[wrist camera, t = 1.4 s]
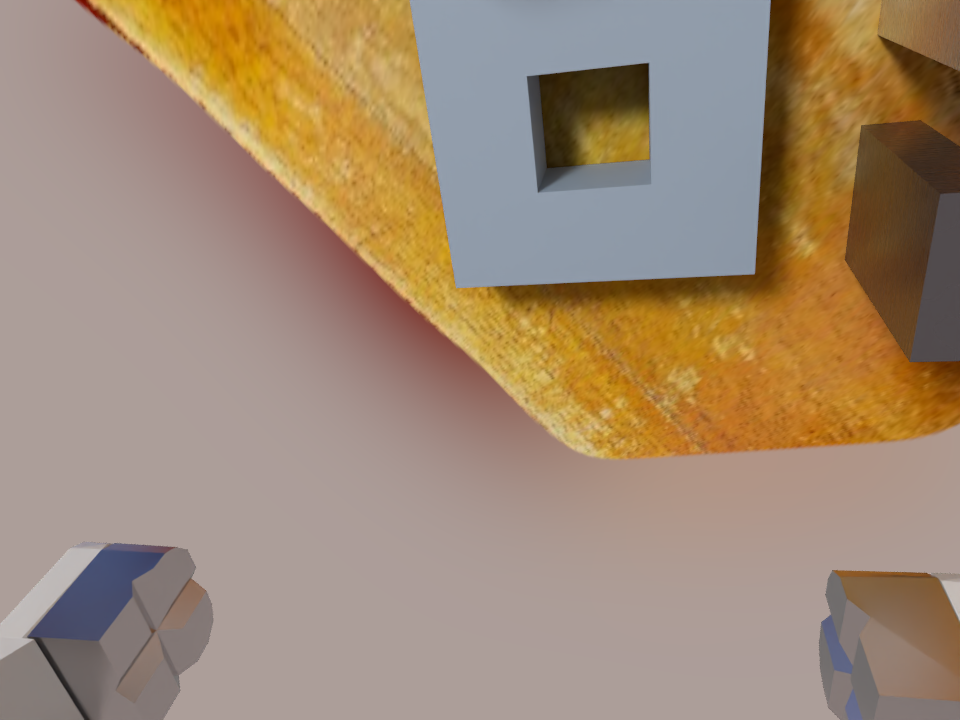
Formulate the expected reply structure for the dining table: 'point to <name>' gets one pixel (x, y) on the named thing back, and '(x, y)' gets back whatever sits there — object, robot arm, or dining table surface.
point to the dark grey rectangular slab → (909, 235)
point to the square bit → (924, 27)
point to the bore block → (597, 187)
